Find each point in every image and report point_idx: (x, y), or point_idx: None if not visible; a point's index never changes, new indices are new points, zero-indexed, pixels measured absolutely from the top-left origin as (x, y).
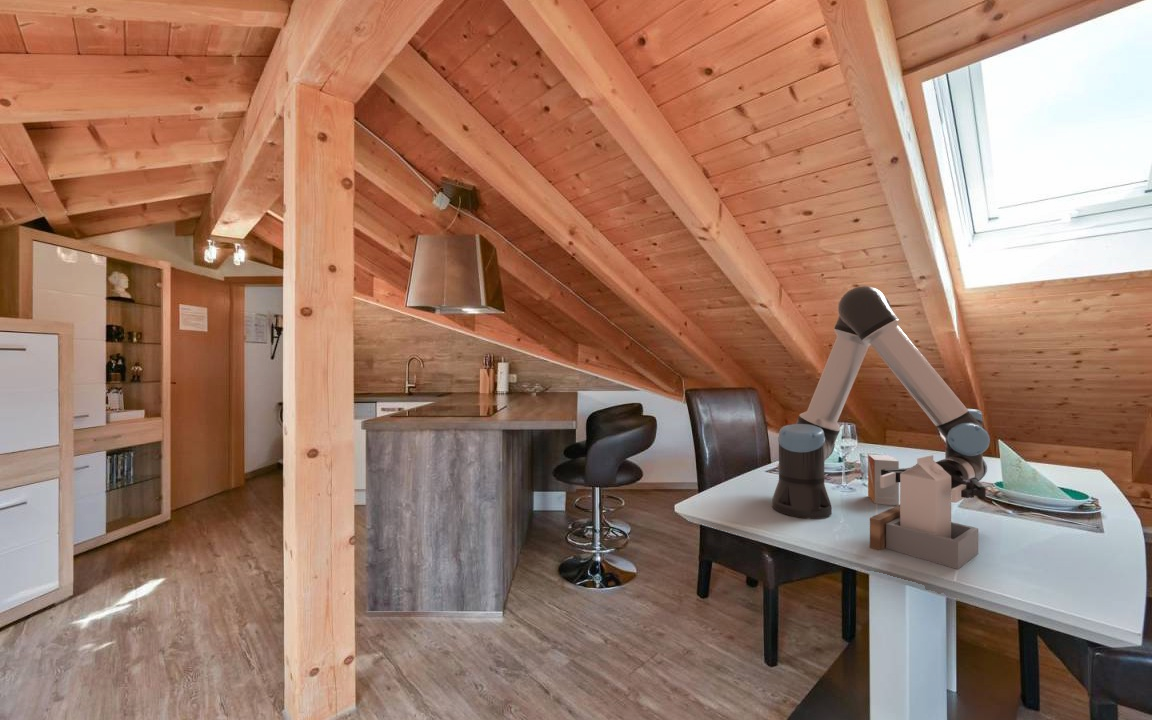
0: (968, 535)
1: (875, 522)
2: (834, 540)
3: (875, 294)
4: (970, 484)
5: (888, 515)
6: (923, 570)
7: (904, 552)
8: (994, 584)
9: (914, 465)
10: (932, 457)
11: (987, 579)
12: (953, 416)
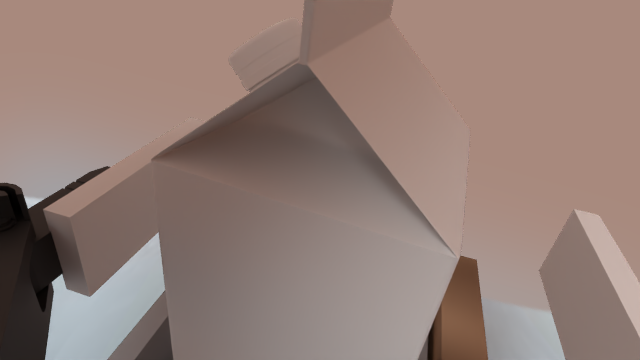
0: (145, 314)
1: None
2: (549, 355)
3: None
4: (12, 194)
5: (446, 320)
6: None
7: None
8: (149, 262)
9: (402, 36)
10: (311, 18)
11: (153, 281)
12: None
